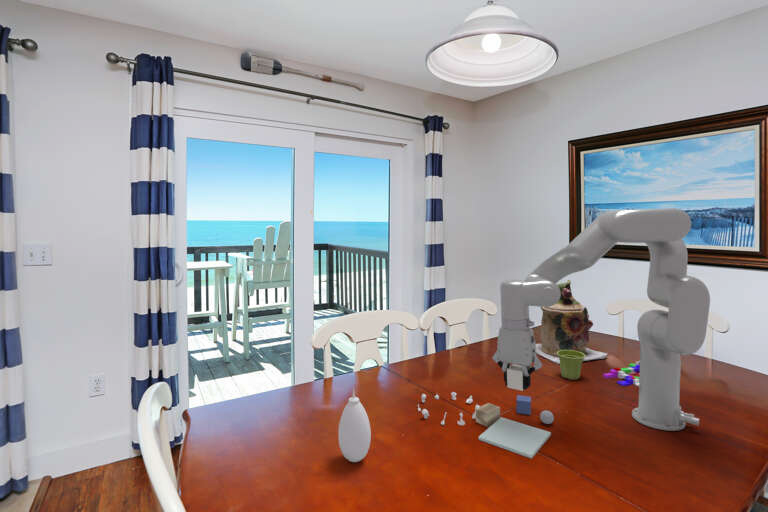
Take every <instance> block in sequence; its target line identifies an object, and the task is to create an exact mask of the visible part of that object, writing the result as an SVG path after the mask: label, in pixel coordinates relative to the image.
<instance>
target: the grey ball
mask: <svg viewBox="0 0 768 512" xmlns="http://www.w3.org/2000/svg"><path fill="white" fill-rule="evenodd" d="M539 417H540V420H541V422H542V423H544V424H546V425H550V424H552V423H553V422H554V419H555V417H554V413H552V412H551V410H547V409H546V410H542V411H541V412H540V413H539Z"/></svg>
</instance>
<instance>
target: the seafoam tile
mask: <svg viewBox="0 0 768 512" xmlns="http://www.w3.org/2000/svg"><path fill="white" fill-rule="evenodd" d="M551 436H552V431H551V432H550V431H547V430H545V429H541V428H538V427H534V426H531V425H528V424H525V423H522V422H518V421H515V420H512V419H509V418H505V417H502V416H500V418H499V419H498V420H497V421H496V422H495V423H494V424H492V425H490V426H488V427H487V429H486V430H484V432H482V433H480V434H479V436H478V440H479V441H480V442H481V441H482V442H484V443H487V444H490V445H493V446H495V447H498V448H501V449H504V450H507V451H509V452H512V453H515V454H518V455H519V456H523V457H525V458H530V459H533V457H535V456H536V454H537V453H538V452H539V450H540V449H541V448H542V447H543V445H545V443H546V442H547V441H548V439H549V438H550V437H551Z"/></svg>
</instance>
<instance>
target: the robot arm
mask: <svg viewBox="0 0 768 512" xmlns="http://www.w3.org/2000/svg"><path fill="white" fill-rule="evenodd" d="M691 228H692V221H691V218H690V216H689V214H687V212H685V211H684V210H682V209H680V208H679V209H678V208H676V207H675V208H674V207H673V208H672V207H671V208H669V207H668V208H659V209H658V208H653V209H652V208H651V209H620V210H619V209H618V210H608V211H604V212H603V213H600V214H599V215H598V216H597V217H596V218H595V219H594V220H593V221H592V222H590V223H589V224H588V225H587V226H586V227H585V228H584V229H583V230H582V231H581V232H579V234H578V235H577V236H576V237H574V239H573V240H572V241H571V242H569V243H568V244H567V245H566V246H564V247H562V248H561V249H560V250H558V251H557V252H555V253H554V254H552V255H551V256H549V257H548V258H546V259H545V260H543V261H542V262H541V263H540V264H538V266H537V267H535V268H534V269H533V271H531V272H530V273H529V274H528V275H527V276H526V277H525V278H524V280H523V279H508V280H507V279H506V280H504V281H501V283H500V315H501V317H500V319H501V326H500V327H499V329H498V334H497V335H498V336H497V345H496V346H497V349H496V351H495V353H494V354H493V355H492V357H491V358H492V360H493V361H495V363H497V365H498V366H499V368H500V369H501V371H502V372H503V381H504V385H505V386H506V387H507V368H509V367H510V366H511V365H513V364H515V365H520V366H522V368H523V371H524V376H523V389H524V390H523V391H526V390H527V389H528V388H529V387H531V385H532V384H531V381H532V380H531V379H532V378H531V374H532V373H534V372H535V371H537V370H539V369H541V368H542V367H543V363H542V362H541V361H540V359H539V358H538V356H537V355H538V354H537V352H536V344H537V343H536V338H535V334H534V333H535V332H534V330H533V328H532V327H534V326H535V321H532V320H531V318H530V306H531V307H540V308H541V307H549V306H552V305H554V304H556V303H557V302H558V301H559V299H560V296H561V292H560V289H559V287H558V286H557V284H558V282H559V281H561V280H562V279H564V278H565V277H567V276H569V275H573V274H574V273H579V272H582V271H585V270H587V269H590V268H592V267H593V266H594V265H595V264H596V263H597V262H598V261H600V259H602V257H604V256H605V254H607V253H608V251H610V250H611V249H612V248H613V247H614V246H615V245H617V244H618V243H626V244H627V243H629V244H631V243H632V244H633V243H635V244H636V243H637V244H638V243H640V244H641V243H644V244H646V246H647V248H648V252H649V258H650V259H649V270H648V277H647V278H648V279H647V288H646V293H647V297H648V299H649V300H650V301H651V302H652V303H654V304H656V305H658V306H661V307H664V308H667V309H668V311H666V310H664V309H650V310H647V311H645V312H644V313H643V314H641V315H640V317H639V319H638V321H637V326H636V327H637V336H638V342H639V361H640V376H638V377H639V387H638V407H635V408H633V409H632V411H631V416H632V418H633V419H634V420H635V421H636V422H638V423H640V424H642V425H644V426H646V427H649V428H653V429H656V430H661V431H670V432H672V431H673V432H675V431H676V432H677V431H682V430H683V429H685V428H686V423H689V424H690V425H695V426H700V425H699V424H700V418H699V417H695V414H693V413H689V412H688V413H687V412H684V411H683V410H682V406H681V405H680V390H681V371H682V369H681V368H682V363H681V362H682V361H681V355H682V356H688V355H690V356H691V355H693V354H695V353H697V352H699V350H700V349H701V348H702V347H703V345H704V343H705V340H706V336H707V329H708V321H709V314H710V306H711V305H710V303H711V296H710V291H709V289H708V287H707V285H706V283H704V282H703V281H702V280H700V279H699V278H696V277H694V276H691V275H688V259H689V257H688V256H689V255H688V249H687V246H686V243H685V242H684V240H683V238H684V237H686V236H687V235H688V234H689V233H690V231H691ZM532 363H533V364H534V365H532ZM531 365H532V366H531Z"/></svg>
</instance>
